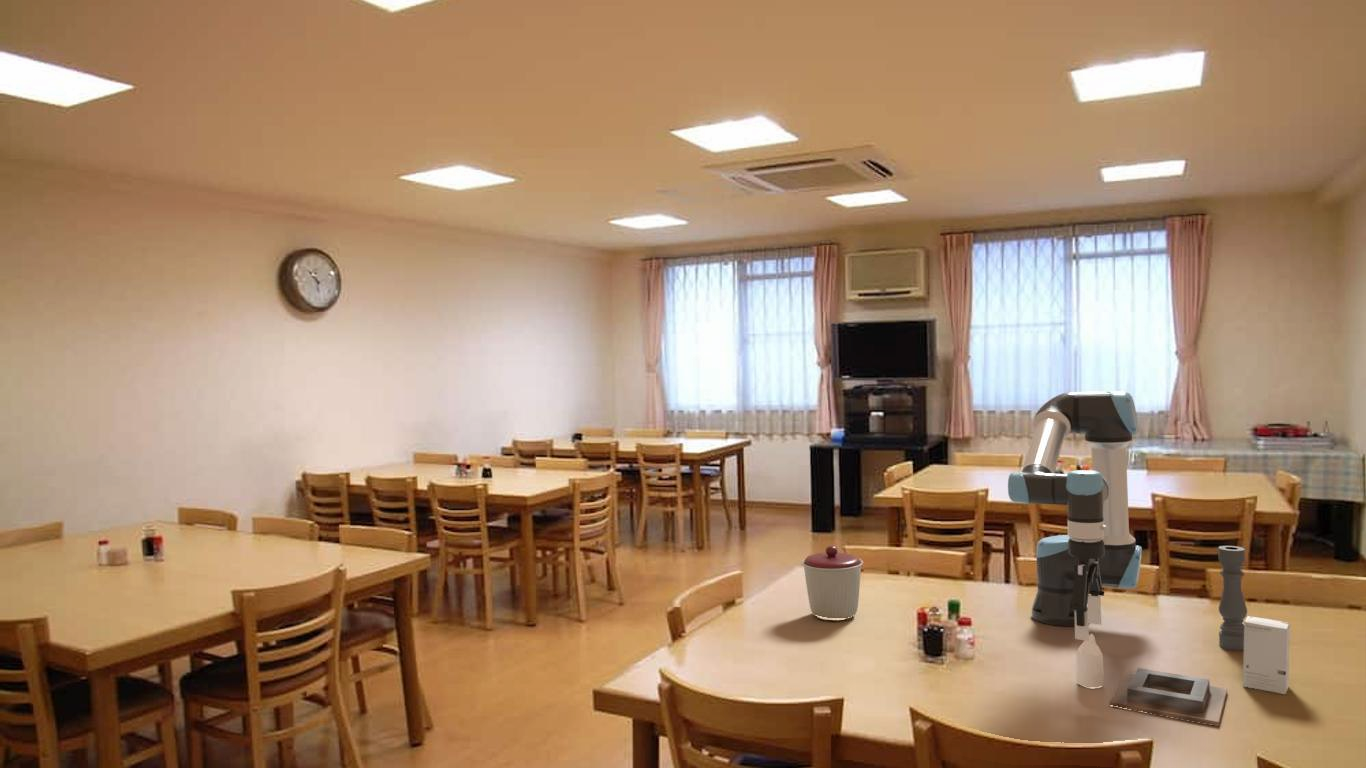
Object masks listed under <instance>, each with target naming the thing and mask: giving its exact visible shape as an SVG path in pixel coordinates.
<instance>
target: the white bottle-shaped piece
mask: <svg viewBox="0 0 1366 768" xmlns="http://www.w3.org/2000/svg"><path fill="white" fill-rule="evenodd" d="M1075 665H1076V683H1077V682H1078V683H1079V684H1081V685H1083V686H1086V687H1099V686H1102V685H1103V686H1104V684H1103V683H1104V656H1103V653H1102V651H1101V649H1100V647H1099V646H1098V644H1097V643H1096V638H1095V635H1094V634H1093V633H1089V641H1085V640H1083V642H1082V643H1081V644H1080V646H1079V647H1078V649H1077V650H1076V664H1075ZM1103 686H1102V687H1103Z"/></svg>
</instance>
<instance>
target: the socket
mask: <svg viewBox="0 0 1366 768" xmlns="http://www.w3.org/2000/svg"><path fill="white" fill-rule="evenodd" d="M1226 694H1227V695H1228V688H1224V687H1219V686H1213V685H1211V684H1210V679H1209V678H1203V677H1197V676H1189V675H1184V674H1177V673H1171V672H1166V671H1159V670H1153V669H1147V668H1139V667H1137V669H1136V671H1135V673H1132V672H1127V671H1126V672H1125V674H1124V675H1123V678H1122V679H1121V681H1120V682H1119V685H1117V688H1116V690H1115V692H1114V693H1113V695H1112V697H1111V699H1110V701H1109V706H1110V705H1113V706H1118V707H1122V708H1127V709H1131V710H1136V711H1143V712H1147V713H1152V714H1156V715H1155V716H1157V715H1162V716H1161V717H1163V716H1168V717H1173V718H1172V719H1174V718H1178V719H1177V720H1179V719H1183V720H1182V721H1184V720H1189V721H1188V722H1190V721H1194V722H1193V723H1195V722H1200V723H1199V724H1201V723H1206V724H1212V725H1217V726H1220V723H1221V719H1222V715H1221V714H1223V711H1224V707H1225V703H1226V699H1227V695H1226ZM1225 698H1226V699H1225ZM1224 702H1225V703H1224ZM1223 706H1224V707H1223ZM1131 710H1130V711H1131ZM1222 710H1223V711H1222ZM1136 711H1135V712H1136ZM1147 713H1146V714H1147ZM1152 714H1151V715H1152ZM1168 717H1167V718H1168ZM1220 718H1221V719H1220ZM1219 722H1220V723H1219ZM1206 724H1205V725H1206ZM1217 726H1216V727H1217Z"/></svg>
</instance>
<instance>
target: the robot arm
mask: <svg viewBox="0 0 1366 768" xmlns="http://www.w3.org/2000/svg"><path fill="white" fill-rule="evenodd" d="M1032 427H1033V430H1034V431H1033V434H1032V438H1031V441H1030V445H1029V448H1028V449H1027V450H1028V451H1027V454H1026V457H1025V460H1024V463H1023V467H1022V470H1021V471H1018V472H1015V471H1014V472H1011V473H1010V474H1009V476H1008V480H1007V493H1008V497H1009V500H1010V501H1011V502H1012V503H1013V502H1014V503H1021V504H1025V505H1028V504H1036V505H1037V504H1038V505H1057V506H1058V505H1059V506H1060V505H1061V506H1067V507H1066V508H1067V534H1062V535H1052V536H1048V537H1044V538H1041V539H1040V540H1039V541H1037V543H1036V552H1035V553H1036V554H1035V558H1036V579H1037V582H1036V583H1037V590H1036V591H1037V592H1036V594H1035V597H1034V600H1033V603H1032V607H1031V617H1032V619H1033V620H1035V621H1037V622H1040V623H1043V624H1046V625H1051V626H1060V627H1074V640H1081V641H1089V635H1090V629H1089V628H1090V627H1089V624H1092V625H1099V626H1100V625H1102V599H1101V596H1102V597H1104V596H1105V590H1103V587H1106V588H1107V587H1109V588H1117V589H1134V588H1136V586H1137V585H1138V581H1139V575H1140V571H1141V570H1140V569H1141V563H1142V562H1141V561H1142V555H1143V554H1142V552H1143V550H1142V549H1143V548H1142V546H1141V545H1136V538H1135V537H1134V536H1133V535H1131V533H1130V528H1129V527H1130V526H1129V525H1130V524H1129V498H1128V497H1129V493H1128V492H1129V491H1128V489H1129V488H1128V463H1127V446H1129V444H1131V442H1132V441H1133V436H1135V435H1137V434H1138V433H1139V423H1138V416H1137V409H1136V407H1135V401H1134V399H1133V396H1132V395H1131V393H1129V392H1127V391H1123V390H1122V391H1118V390H1117V391H1116V390H1095V391H1093V390H1092V391H1090V390H1089V391H1067V392H1064V393H1061V394H1058V395H1056V396H1053V397H1052V398H1050V399H1049V400H1048V401H1046V402H1045V403H1044V404H1043V405H1041V407H1040V408H1039V409H1038V410H1037V412H1036V413H1035V416H1034V419H1033V422H1032ZM1070 434H1078V435H1079V434H1080V435H1084V441H1085V442H1086V443H1087V444H1088V445H1089V446H1090V449H1091V451H1090V452H1091V469H1087V470H1086V469H1080V470H1078V469H1077V470H1071V471H1068V473H1056V470H1057V467H1058V466H1057V465H1058V463H1059V459H1060V456H1061V450H1062V448H1063V444H1064V440H1065V439H1066V438H1067V437H1068V436H1069V435H1070Z"/></svg>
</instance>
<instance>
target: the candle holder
mask: <svg viewBox="0 0 1366 768" xmlns="http://www.w3.org/2000/svg"><path fill="white" fill-rule="evenodd" d="M1217 550H1218V553H1217V554H1218V561H1219V564H1220V565H1221V567H1222V569H1221V570H1220V571H1219V574H1220V575H1221V576H1222V577H1223V578H1222V580H1223V581H1222V583H1223V587H1222V588H1223V589H1222V593H1221V598H1220V601H1219V605H1218V611H1219V614H1220V615H1221V617H1222V620H1223V622H1222V624H1220V626H1219V628H1220V630H1219V632H1218V636H1219V638H1218V641H1219V643H1218V644H1219V647H1220V648H1222V649H1225V650H1228V651H1235V650H1236V651H1237V652H1244V651H1243V650H1244V622H1245V619H1246V618H1247V615H1248V608H1247V604H1246V601H1245V597H1244V594H1243V591H1242V578H1243V577H1244V576H1245V572H1243V570H1242V568H1243V567H1244V565H1245V563H1246V549H1245V548H1244V547H1241V546H1235V545H1219V546H1218V549H1217Z"/></svg>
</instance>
